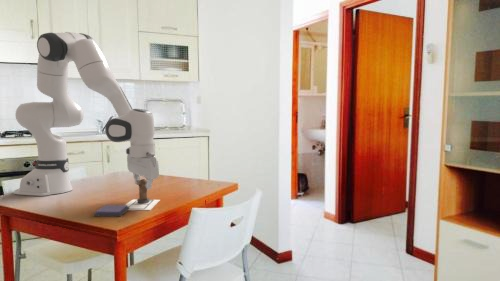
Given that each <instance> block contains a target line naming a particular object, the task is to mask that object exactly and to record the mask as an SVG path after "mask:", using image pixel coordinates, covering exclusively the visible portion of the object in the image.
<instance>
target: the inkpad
mask: <svg viewBox="0 0 500 281" xmlns="http://www.w3.org/2000/svg"><path fill="white" fill-rule="evenodd" d="M128 209H129V206H127V205H126V204H125V205H124V204H105V205H103V206H101V208H99V209H97V210H96V211H95V212H94V213H93V217H98V218H99V217H103V218H104V217H108V218H109V217H116V218H117V217H118V218H119V217H122V216H124V214H125V213H127V211H129V210H128Z"/></svg>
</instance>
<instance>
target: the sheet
mask: <svg viewBox="0 0 500 281" xmlns="http://www.w3.org/2000/svg"><path fill="white" fill-rule="evenodd" d="M137 199H138V198H137ZM137 199H136V198H135V199H131V200H130V201H129V202H127V203H126V204H125V205H127V206H129V209H128V211H151V210H152V209H153V208H154V207H155V206H156V205H157V204H158V203H159V202H160V201H161V199H149V202H148V203H144V204H140V203H138V201H137Z"/></svg>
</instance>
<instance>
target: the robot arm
mask: <svg viewBox="0 0 500 281" xmlns="http://www.w3.org/2000/svg"><path fill="white" fill-rule="evenodd" d="M36 47H37V51H38V59H37V68H36V71H37V72H36V87H37V89H38V91H39V92H40V93H42V94H43V95H45V96H48V98H52V101H51V102H49V101H48V102H46V101H32V102H26V103H24V102H23V103H21V104H19V105H18V106H17V108H16V111H15V120H16V121H17V123H18V124H19V125H20V126H22V128H25V129H26V130H27V131H28V132H29V133H30V134H31V135H32V136H33V138H34V140H35V142H36V148H37V154H38V155H37V157H38V159H37V160H35V161H33V162H32V165H31V166H34V168H33V169H32V170H31V171H29V172H28V173H27V174H26V175H24V176H23V177H22V178H21V179H20V183H19V188H17V189H14V191H13V195H22V196H24V195H25V196H38V197H39V196H40V197H44V196H45V197H46V196H49V195H50V196H51V195H56V194H63V193H64V194H65V193H68V192H70V191H72V190H73V186H72V183H71V181H70V179H71V178H70V175H69V171H70V170H69V169H70V168H69V158H68V149H67V148H68V145H67V144H68V143H67V141H66V139H64V138H63V137H61V136H59V135H56V134H54V133H52V131H51V130H52V128H71V127H76V126H80V125H81V123H82V122H83V120H84V111H83V108H82V106H80V105H79V104H78V103H77V102H75V101H74V100H73V98H72V97H71V95H70V93H69V88H68V87H69V86H68V76H69V75H68V72H69V70H68V69H69V67H68V66H69V62H70V63H71V62H74V64H75V67H76V69H77V72H78V73H79V76H80V78H81V80H82V82H83V83H84V85H85V86H86V88H88V89H90V90H91V91H93V92H96V93H98V94H100V95H101V96H103V97H105V98H106V99H107V100H108V101H109V102H110V103H111V105H112V107H113V109H114V110H115V113H116V114H117V117H114V118H110V120H108V121H107V122H106V123H105V126H104V131H105V135H106V137H107V139H108V140H110V142H113V143H125V142H129V143H130V146H129V147H127V148H126V149H125V153H126V155H127V156H126V162H127V170H128V171H129V173H133V178H134V184H135V185H138V182H139V181H140V180H141V179H140V177H143V178H144V179H145V178H146V179H145V180H147V184H145V186H146V187H145V188H146V189H147V190H152V189H153V188H152V186H153V185H152V184H153V182H154V180H157V179H158V178H159V176H160V172H159V171H160V169H159V168H160V167H159V161H158V159H157V158H156V156H155V140H154V135H155V121H154V116H153V113H152V112H151V111H149V110H146V109H142V108H141V109H140V108H133V107H132V105H131V103H130V102H129V100H128V97H127V96H126V94H125V93H124V90H123V88H122V87H121V86H120V84H119V82H118V81H117V79H116V77H115V75H114V74H113V72H112V70H111V68H110V66H109V63H108V61H107V59H106V57H105V55H104V53H103V52H102V50H101V48H100V47H99V46H98V44H97V43H96V41H95V40H94V38H93V37H92V36H90V35H88V34H85V33H82V32H81V33H80V32H79V33H76V32H69V31H64V32H45V33H42V34H41V35H39V37H38V39H37V42H36Z"/></svg>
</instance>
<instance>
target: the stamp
mask: <svg viewBox="0 0 500 281" xmlns="http://www.w3.org/2000/svg"><path fill="white" fill-rule="evenodd" d="M145 184H147V180H146V179H145V178H144V179H143V178H141V179H140V181H139V182H138V190H139V191H138V196H139V197H138V198H137V201H138V203H140V204H144V203H148V202H149V200H150V197H148V189H146V188H145V187H146V186H145Z"/></svg>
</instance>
